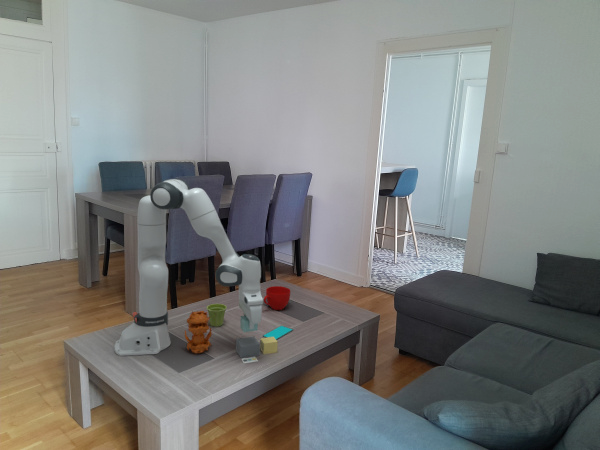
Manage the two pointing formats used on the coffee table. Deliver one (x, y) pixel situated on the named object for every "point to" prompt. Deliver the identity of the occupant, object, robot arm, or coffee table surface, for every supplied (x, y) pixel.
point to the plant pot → (216, 314)
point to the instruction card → (249, 360)
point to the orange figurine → (198, 332)
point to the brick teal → (247, 325)
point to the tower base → (247, 347)
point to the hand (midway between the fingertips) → (248, 325)
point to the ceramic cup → (277, 297)
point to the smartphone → (278, 332)
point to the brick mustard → (268, 345)
